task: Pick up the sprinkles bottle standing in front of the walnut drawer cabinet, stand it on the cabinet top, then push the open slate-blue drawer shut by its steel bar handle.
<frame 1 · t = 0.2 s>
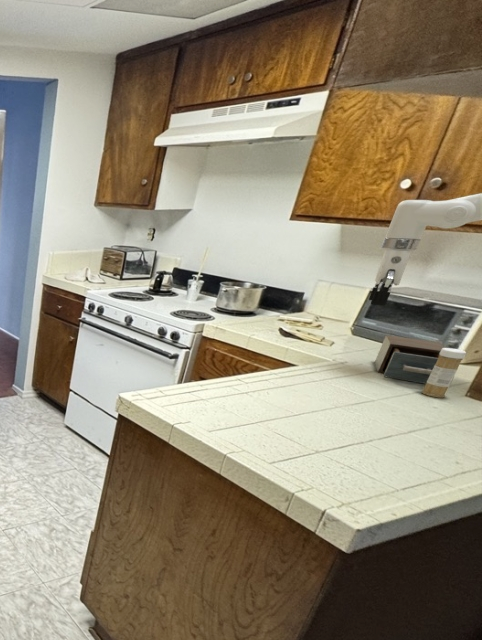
hand: (376, 302, 144), 22 cm above the counter, tool pointing down, fingers open, 9 cm apart
drawer: (413, 365, 143), point 5 cm above the counter, slide at 7.0 cm
cabinet: (402, 371, 152), on the counter
sprinkles bottle: (431, 395, 133), on the counter
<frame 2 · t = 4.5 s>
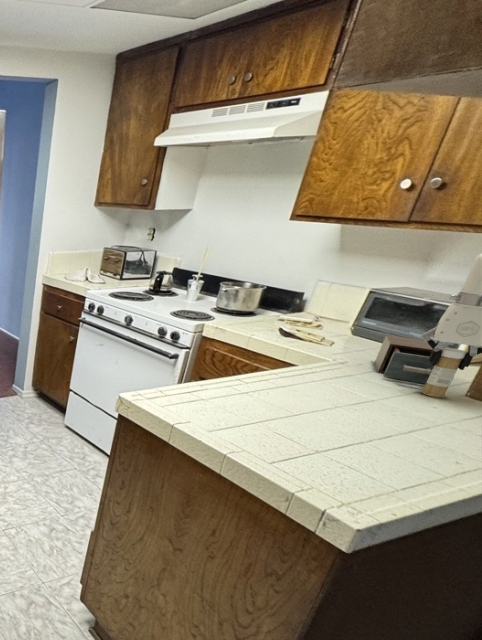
hand: (446, 365, 129), 9 cm above the counter, tool pointing down, fingers closed on sprinkles bottle, 4 cm apart
sprinkles bottle: (431, 395, 133), on the counter, touching gripper
everything else where it was.
when the fingers open (18 cm above the counter, at t = 10.6 s): sprinkles bottle stays where it is, resting on cabinet.
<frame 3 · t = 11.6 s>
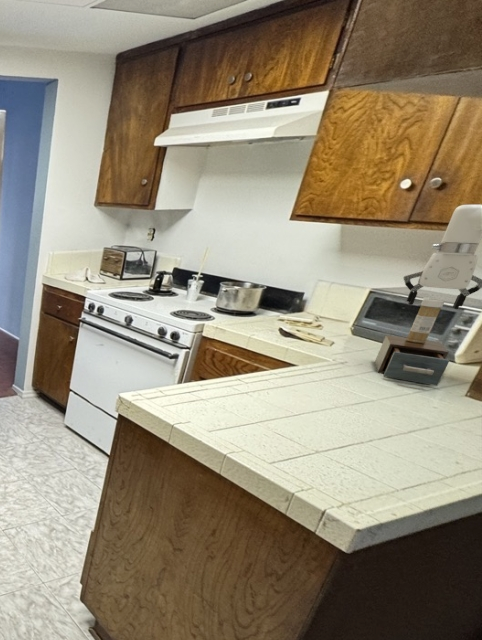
hand: (432, 306, 145), 21 cm above the counter, tool pointing down, fingers open, 9 cm apart
sprinkles bottle: (414, 342, 150), point 9 cm above the counter, touching cabinet
everything else where it was.
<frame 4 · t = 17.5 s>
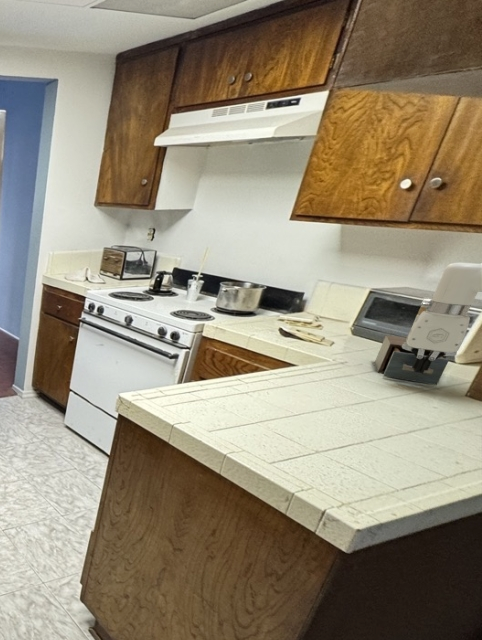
hand: (418, 371, 136), 5 cm above the counter, tool pointing down, fingers closed
drawer: (413, 364, 143), point 5 cm above the counter, slide at 6.2 cm
everything else where it was.
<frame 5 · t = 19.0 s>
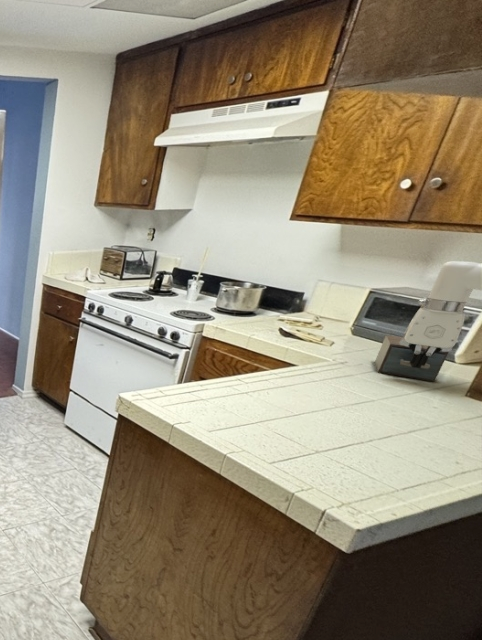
hand: (415, 366, 140), 5 cm above the counter, tool pointing down, fingers closed
drawer: (410, 360, 148), point 5 cm above the counter, slide at 0.0 cm, touching cabinet, gripper
everything else where it was.
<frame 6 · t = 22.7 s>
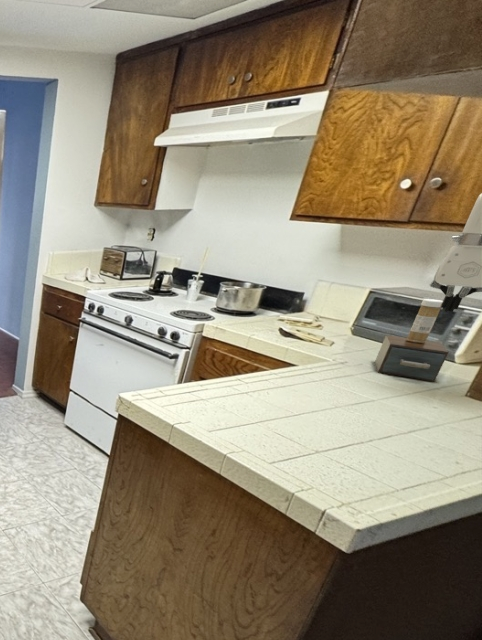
hand: (447, 310, 129), 23 cm above the counter, tool pointing down, fingers closed
drawer: (410, 360, 148), point 5 cm above the counter, slide at 0.0 cm, touching cabinet
everything else where it was.
at the end: sprinkles bottle inside the target area on the cabinet (2.0 cm from its centre), point 9.4 cm above the cabinet's base; sprinkles bottle tilted 0°; drawer slide at 0.0 cm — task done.
